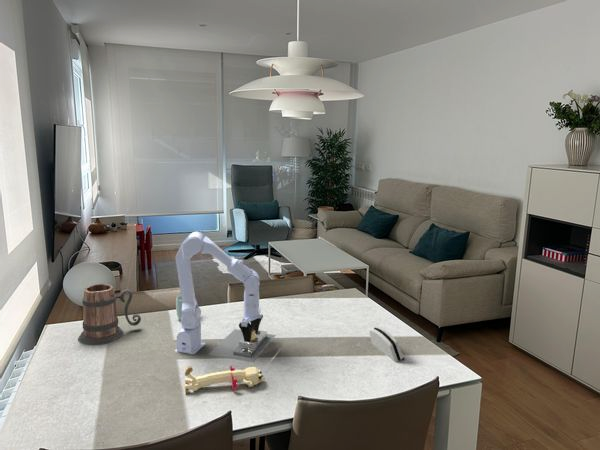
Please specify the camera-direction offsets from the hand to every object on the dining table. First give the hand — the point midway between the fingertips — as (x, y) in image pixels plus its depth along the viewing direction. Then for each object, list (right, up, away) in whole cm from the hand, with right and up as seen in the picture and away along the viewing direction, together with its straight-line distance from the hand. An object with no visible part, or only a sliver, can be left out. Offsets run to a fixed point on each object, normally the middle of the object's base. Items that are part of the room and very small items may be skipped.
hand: (251, 337), depth 172 cm
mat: (-3, -4, +2) cm, 5 cm away
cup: (-32, +2, +25) cm, 41 cm away
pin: (0, -3, +1) cm, 3 cm away
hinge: (+51, -6, 0) cm, 52 cm away
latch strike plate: (0, -4, +1) cm, 4 cm away
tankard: (-57, -1, +8) cm, 58 cm away
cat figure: (-5, -9, -27) cm, 29 cm away
